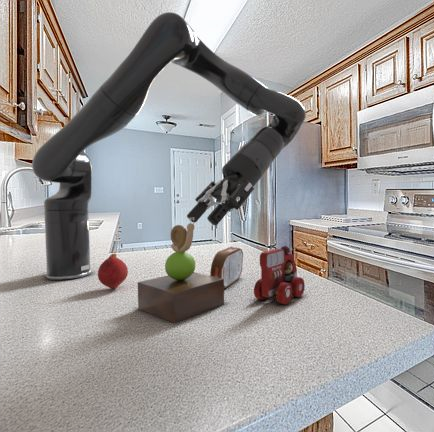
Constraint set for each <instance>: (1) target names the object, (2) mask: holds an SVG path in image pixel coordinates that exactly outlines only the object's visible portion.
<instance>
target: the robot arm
mask: <svg viewBox="0 0 434 432" xmlns="http://www.w3.org/2000/svg"><path fill="white" fill-rule="evenodd" d="M188 23H189V22H187V21H186V20H185V19H184V18H183V17H182V16H181V15H180V14H178V13H176V12H171V11H169V12H168V11H167V12H162V13H161V14H159V15H157V16H156V17H155V18H154V19H153V20H152V21H151V23H150V24H149V25H148V27H147V28H146V29H145V31H144V32H143V34H142V36H140V38H139V40H138V41H137V43H136V44H135V45H134V47H133V48H132V50H131V51H130V52H129V54H128V55H127V56H126V57H125V59H124V60H122V61H121V63H120V64H119V65H118V66H117V67H116V69H115V70H114V71H113V73H112V74H111V75H109V77H108V78H107V79H106V80H105V81H103V83H102V84H101V85H100V86H99V87H98V89H96V91H94V93H93V94H92V95H91V97H90V98H88V100H87V102H86V103H85V104H84V105H83V106H82V107H81V108H80V109H79V110H78V111H77V112H76V113H75V114H74V115H73V117H72V118H71V119H70V120H69V121H68V122H67V123H66V124H65V125H64V126H63V127H61V129H59V130H58V131H57V132H56V133H55V134H54V135H52V137H50V138H49V139H47V141H46V142H44V143H43V144H42V145H41V146H40V147H39V148H38V149H37V150H36V152H35V153H34V156H33V157H32V163H31V168H32V172H33V174H34V175H35V176H36V177H37V178H38V179H40V180H41V181H45V182H48V183H53V184H54V183H56V184H59V187H58V190H57V192H55V193H54V194H52V195H51V196H48V197H47V198H45V199H44V200H43V210H44V212H43V213H44V238H45V261H46V263H45V265H46V275H45V276H46V279H47V280H52V281H63V280H65V281H66V280H71V279H72V280H73V279H80V278H83V277H87V276H89V275H91V273H92V270H91V248H90V222H89V221H90V219H89V218H90V217H89V203H90V201H91V198H92V188H93V187H92V184H93V167H92V162H91V159H90V157H89V155H88V154H87V152H85V150H87V149H88V148H89V147H91V146H92V145H94V144H96V143H97V142H100V141H102V140H104V139H107V138H109V137H111V136H113V135H115V134H117V133H119V132H121V131H122V130H124V128H126V127H127V126H129V124H130V123H131V122H132V121H133V120H134V119H135V117H137V116H138V115H139V113H140V112H141V110H142V109H143V107H144V106H145V103H146V101H147V98H148V94H149V92H150V88H151V86H152V84H153V83H154V80H155V79H156V77H158V75H159V74H160V73H161V72H162V71H163V70H164V69H165V68H166V67H167V66H168V65H169V64H170V63H172V64H173V65H176V66H179V67H181V68H184V69H186V70H188V71H190V72H192V73H194V74H196V75H198V76H200V77H201V78H202V79H204V80H206V81H207V82H209V83H211V84H212V85H213V86H214V87H216V88H217V89H219V90H220V91H221V92H222V93H223V94H225V96H227V97H228V98H230V100H232V101H233V102H234V103H236V104H238V105H239V106H240V107H242V108H243V109H244V110H246V111H248V113H250V114H252V115H253V116H257V117H259V116H262V115H263V114H264V113H265V112H267V113H270V114H272V115H273V116H272V119H271V120H270V122H269V123H268V125H267V126H263V127H261V128H259V129H258V130H257V131H256V132H255V133H254V134H253V135H252V137H250V139H249V140H248V141H246V142H245V143H244V144H243V145H242V146H240V148H239V149H238V150H237V151H236V152H235V153H234V154H233V156H231V157H230V159H229V160H228V161H227V162H226V163H225V164H224V165H223V166H222V167H221V168H222V169H221V173H222V179H221V180H218V181H217V182H216V181H214V180H213V181H210V183H209V184H208V185H207V186H206V187H205V188H204V189H203V191H201V193H200V194H198V195H197V196H196V198H195V202H196V204H195V205H194V207H192V208H191V210H190V211H189V212H188V213H187V215H186V218H187V219H188V220H189V218H190V217H191V218H193V217H195V220H194V221H193V220H189V221H190V223H194V224H195V223H197V222H198V221H199V220H200V218H201V217H202V216H203V215H204V214H205V213H206V211H207V210H209V209H210V208H211V207H213V206H214V207H215V208H213V210H212V211H211V212H210V213H209V214H208V216H206V217H207V218H206V219H207V220H208V222H209V223H210V224H211V225H212V226H218V225H219V224H220V222H221V221H222V220H223V219H224V218H225V217H226V215H227V214H228V213H230V212H232V211H233V210H234V209H235V210H236V211H237V210H239V209H240V208H242V206H243V204H244V203H245V202H246V200H247V199H248V198H249V196H250V195H251V194H252V193H253V191H254V190H255V186H256V185H257V183H259V181H260V180H261V178H262V177H263V176H264V175H265V174H266V172H268V169H269V168H270V167H271V165H272V163H273V162H274V161H275V159H277V157H278V156H279V155H280V154H281V152H282V150H284V149H285V148H286V147H287V146H288V145H289V144H290V143H291V142H293V140H294V139H295V137H296V136H297V134H298V132H299V131H300V129H301V127H302V125H303V124H304V122H305V120H306V117H307V113H306V112H307V111H306V109H305V107H304V106H303V104H302V103H301V102H300V101H299V100H297V98H294V97H293V96H290V95H287V94H285V93H282V92H280V91H277V90H275V89H271V88H269V87H267V86H266V85H264V84H263V83H262V82H260V81H259V80H258V79H256V78H255V77H253V76H252V75H251V74H249V73H247V72H246V71H245V70H243V69H241V68H239V67H238V66H235V65H234V64H231V63H229V62H228V61H227V60H225V59H223V58H221V57H220V56H219V55H217V54H216V53H215V52H213V51H212V50H211V48H210V47H208V46H207V45H206V44H205V43H204V42H203V41H202V40H201V39H200V38H199V37H198V36H197V33H196V32H195V30H194V29H193V28H192V27H191V26H190V24H188Z"/></svg>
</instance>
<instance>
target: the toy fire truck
mask: <svg viewBox="0 0 434 432" xmlns="http://www.w3.org/2000/svg"><path fill="white" fill-rule="evenodd" d="M259 266H260V269H261V270H260V274H261V275H260V278H259V279H258V280H257V281H256V282H255V284H254V287H253V295H254V297H255V298H256V299H257V300H261V301H264V300H266V299H267V298H275V299H276V301H277V303H278V304H280V305H288V304H289V303H290V302H291V300H292V297H294V298H301V297H302V296H303V294H304V292H305V288H306V287H305V286H306V285H305V280H304V278H303V277H301V276H298V269H297V265H296V262H295V257H294V254H292V253H291V249H290V247H289V246H288V245H282V246H281V247H280V248H274V249H270V250H266V251H263V252H261V253H260V254H259Z"/></svg>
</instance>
